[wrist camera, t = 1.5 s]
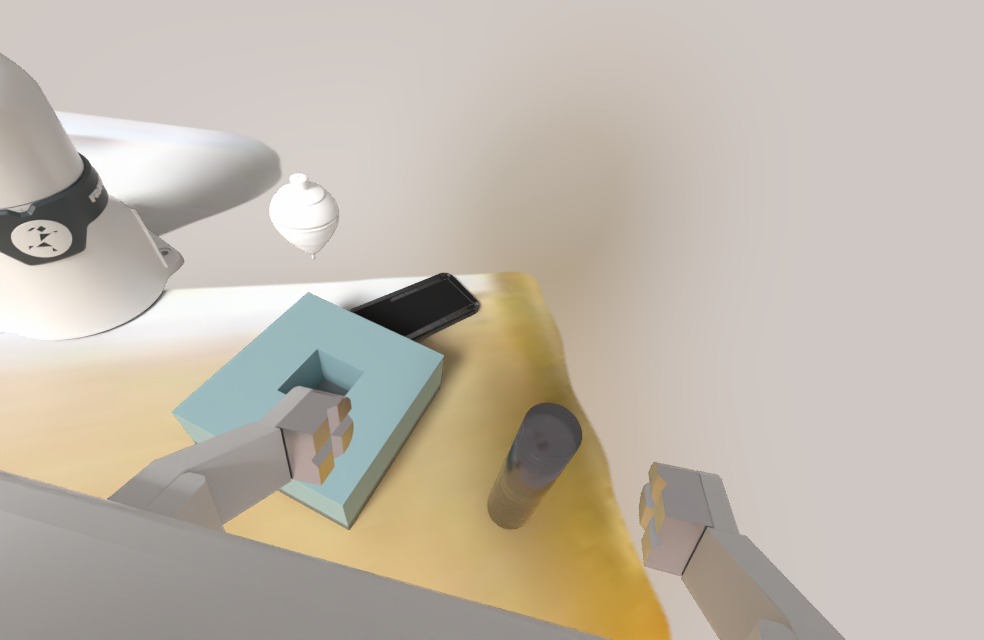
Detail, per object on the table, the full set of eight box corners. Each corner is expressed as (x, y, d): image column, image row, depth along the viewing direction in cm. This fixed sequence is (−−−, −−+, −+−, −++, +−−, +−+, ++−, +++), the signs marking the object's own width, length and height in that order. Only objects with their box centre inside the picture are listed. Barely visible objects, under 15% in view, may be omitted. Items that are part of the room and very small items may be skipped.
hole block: (197, 445, 38) (171, 411, 34) (316, 329, 49) (308, 292, 45) (349, 530, 36) (342, 505, 32) (439, 388, 46) (444, 355, 42)
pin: (478, 503, 39) (510, 425, 28) (508, 475, 41) (549, 392, 30) (509, 539, 38) (556, 470, 27) (538, 508, 40) (593, 433, 29)
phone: (482, 306, 55) (377, 357, 47) (481, 312, 56) (377, 362, 48) (447, 270, 58) (343, 311, 50) (446, 276, 59) (343, 317, 51)
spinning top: (328, 285, 54) (314, 203, 45) (269, 269, 54) (245, 184, 45) (353, 249, 59) (346, 169, 50) (300, 234, 59) (283, 152, 50)
